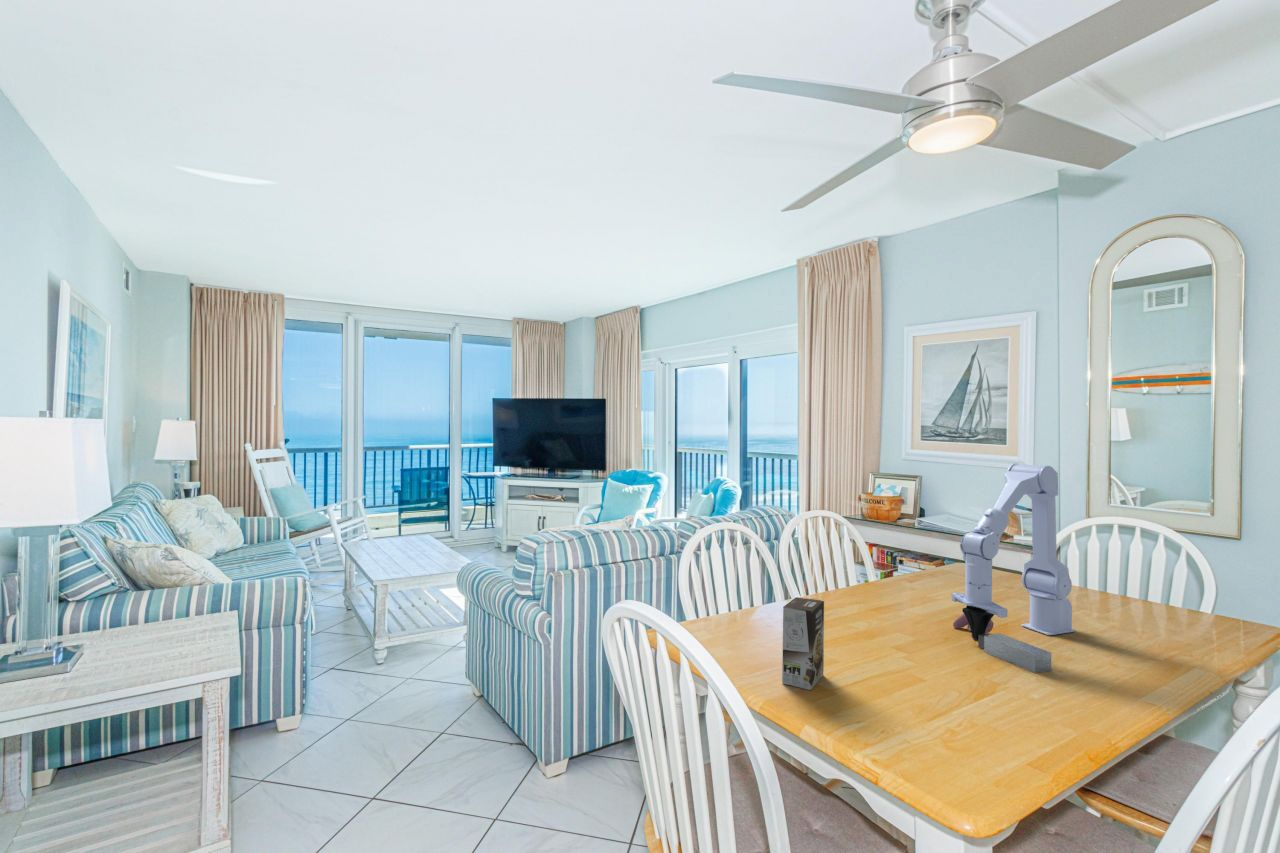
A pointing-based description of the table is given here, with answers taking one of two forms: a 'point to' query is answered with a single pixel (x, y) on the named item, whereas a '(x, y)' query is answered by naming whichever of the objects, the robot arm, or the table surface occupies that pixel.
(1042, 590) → the robot arm
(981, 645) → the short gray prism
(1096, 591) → the table surface
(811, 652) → the coffee box
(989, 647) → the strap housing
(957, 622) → the video game controller
